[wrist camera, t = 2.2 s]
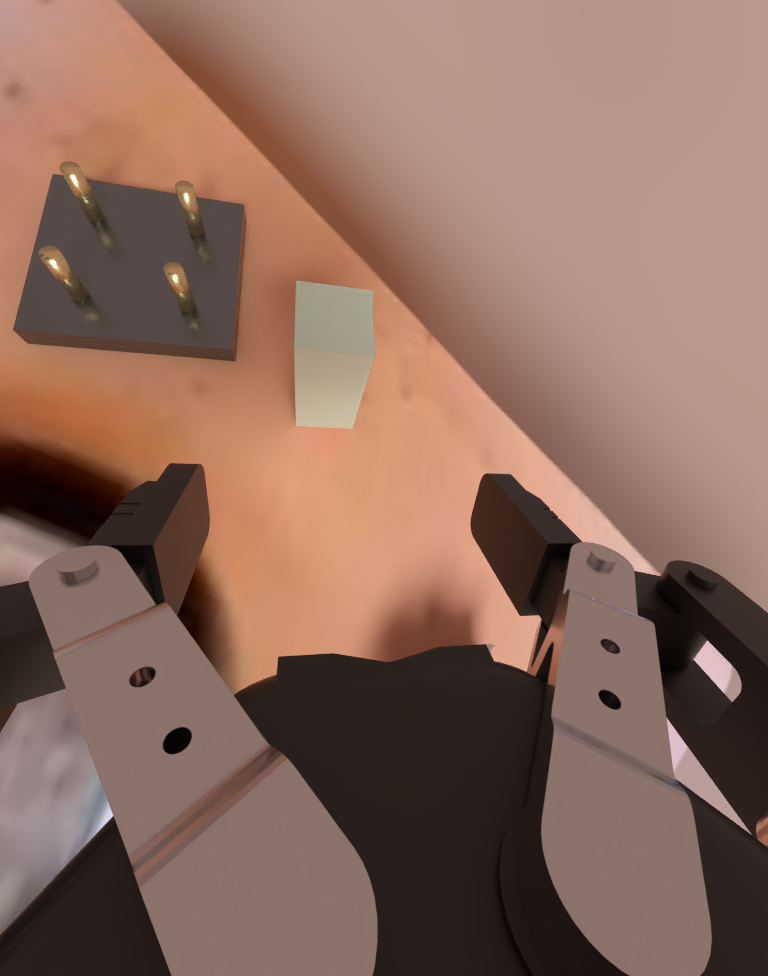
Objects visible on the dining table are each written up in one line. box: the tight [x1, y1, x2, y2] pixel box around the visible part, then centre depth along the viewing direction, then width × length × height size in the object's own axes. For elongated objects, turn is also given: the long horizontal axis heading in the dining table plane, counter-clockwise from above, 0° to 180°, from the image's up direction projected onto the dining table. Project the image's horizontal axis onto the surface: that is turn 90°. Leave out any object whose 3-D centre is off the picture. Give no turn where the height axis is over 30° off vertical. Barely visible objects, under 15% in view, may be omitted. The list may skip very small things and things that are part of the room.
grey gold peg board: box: [13, 162, 246, 361], centre depth 29 cm, size 14×14×5 cm
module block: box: [294, 280, 375, 429], centre depth 27 cm, size 4×4×10 cm
